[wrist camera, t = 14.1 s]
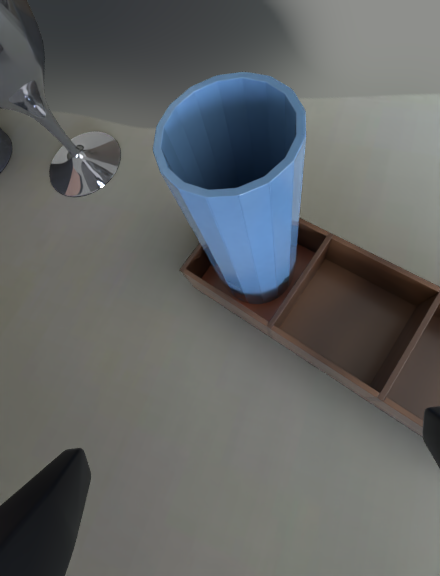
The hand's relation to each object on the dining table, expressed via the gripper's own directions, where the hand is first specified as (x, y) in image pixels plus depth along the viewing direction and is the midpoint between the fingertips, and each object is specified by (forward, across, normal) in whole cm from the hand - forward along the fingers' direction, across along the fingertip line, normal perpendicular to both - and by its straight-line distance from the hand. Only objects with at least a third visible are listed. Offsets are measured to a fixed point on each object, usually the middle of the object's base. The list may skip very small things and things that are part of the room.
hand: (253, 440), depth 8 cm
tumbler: (+15, -2, -1) cm, 15 cm away
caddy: (+12, -7, +3) cm, 14 cm away
